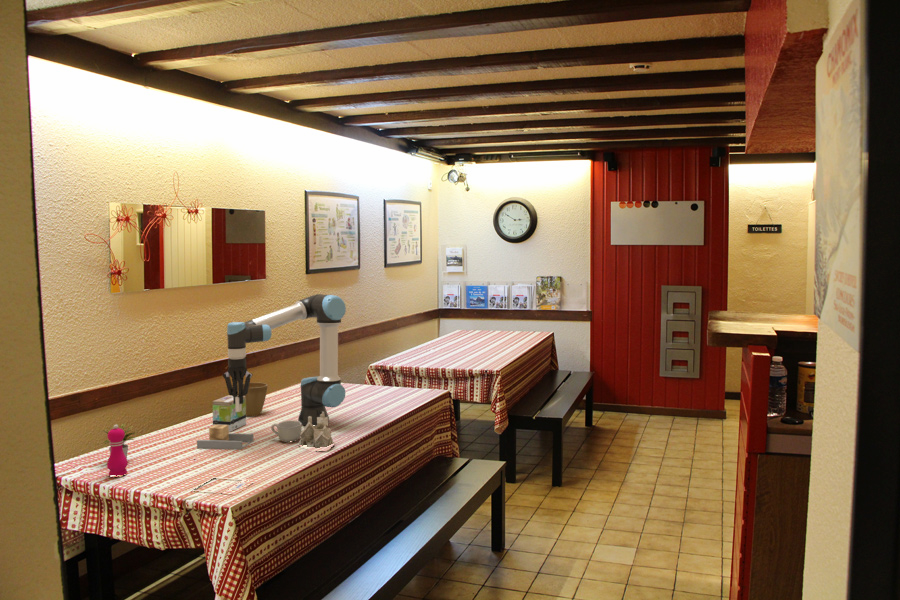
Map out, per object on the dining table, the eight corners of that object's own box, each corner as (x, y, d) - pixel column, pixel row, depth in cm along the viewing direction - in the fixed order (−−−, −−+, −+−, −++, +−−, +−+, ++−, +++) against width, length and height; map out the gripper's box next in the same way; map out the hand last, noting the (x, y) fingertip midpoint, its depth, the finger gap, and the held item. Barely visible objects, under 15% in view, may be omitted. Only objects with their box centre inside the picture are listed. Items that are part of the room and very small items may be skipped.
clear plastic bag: (235, 493, 240) (190, 490, 244) (235, 496, 240) (190, 493, 244) (256, 479, 254) (213, 476, 258) (256, 482, 254) (213, 479, 258)
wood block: (228, 442, 302) (228, 424, 301) (222, 446, 296) (222, 428, 295) (216, 442, 303) (215, 424, 302) (209, 446, 297) (209, 428, 296)
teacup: (306, 438, 312) (306, 421, 311) (293, 445, 302) (293, 427, 301) (280, 436, 316) (279, 419, 316) (266, 442, 306) (266, 424, 306)
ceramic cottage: (301, 441, 307) (301, 409, 305) (337, 442, 306) (337, 410, 304) (292, 453, 291) (292, 420, 289) (330, 455, 291) (330, 421, 289)
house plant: (110, 470, 269) (108, 429, 268) (90, 464, 276) (88, 425, 275) (143, 460, 281) (141, 421, 280) (123, 455, 288) (122, 417, 287)
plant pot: (250, 419, 347) (249, 389, 346) (233, 415, 356) (232, 385, 355) (274, 414, 359) (273, 384, 358) (256, 410, 368) (255, 381, 367)
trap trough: (253, 443, 304) (253, 433, 304) (241, 452, 291) (240, 441, 291) (211, 442, 307) (211, 432, 306) (197, 450, 294) (196, 440, 293)
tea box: (231, 432, 324) (230, 401, 323) (212, 431, 326) (211, 401, 325) (247, 424, 339) (246, 395, 338) (228, 423, 341) (227, 394, 340)
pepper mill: (112, 472, 266) (109, 422, 264) (131, 472, 266) (129, 421, 265) (104, 478, 259) (101, 427, 257) (123, 478, 259) (121, 426, 258)
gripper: (254, 356, 298) (256, 409, 300) (226, 356, 300) (228, 408, 301) (247, 359, 291) (249, 413, 292) (218, 358, 292) (220, 412, 294)
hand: (238, 411), depth 297 cm, fingers closed
